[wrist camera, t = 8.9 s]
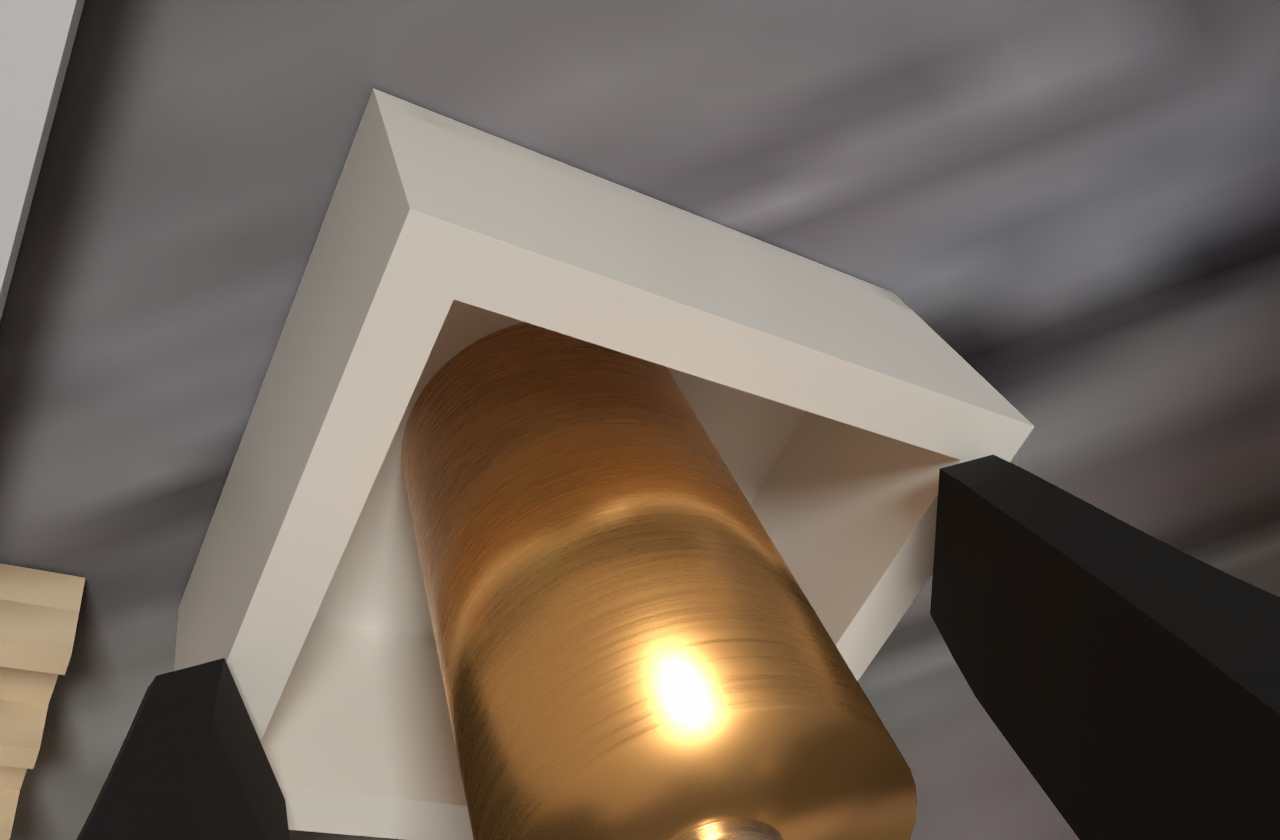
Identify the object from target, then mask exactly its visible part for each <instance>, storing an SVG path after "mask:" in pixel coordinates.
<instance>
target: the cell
mask: <svg viewBox="0 0 1280 840" xmlns="http://www.w3.org/2000/svg"><path fill="white" fill-rule="evenodd" d="M401 458H402V472H403V477H404V482H405V487H406V492H407V497H408V503H409V508H410V513H411V518H412V523H413V528H414V534H415V539H416V544H417V549H418V554H419V560H420V565H421V570H422V575H423V580H424V585H425V591H426V596H427V601H428V606H429V611H430V616H431V622H432V627H433V632H434V637H435V642H436V647H437V653H438V658H439V663H440V668H441V673H442V678H443V684H444V689H445V694H446V699H447V704H448V710H449V715H450V720H451V725H452V730H453V735H454V741H455V746H456V751H457V756H458V761H459V766H460V772H461V777H462V782H463V787H464V792H465V797H466V803H467V808H468V813H469V818H470V823H471V828H472V834H473V839H474V840H910V838H911V834H912V830H913V827H914V823H915V818H916V807H917V797H916V787H915V783H914V780H913V776H912V773H911V770H910V768H909V766H908V765H907V763H906V761H905V759H904V758H903V756H902V754H901V753H900V751H899V749H898V748H897V746H896V744H895V743H894V741H893V739H892V738H891V736H890V734H889V733H888V731H887V730H886V728H885V726H884V725H883V723H882V721H881V720H880V718H879V716H878V715H877V713H876V711H875V710H874V708H873V706H872V705H871V703H870V701H869V700H868V698H867V697H866V695H865V693H864V692H863V690H862V688H861V687H860V685H859V683H858V682H857V680H856V678H855V677H854V675H853V673H852V672H851V670H850V669H849V667H848V665H847V664H846V662H845V660H844V659H843V657H842V655H841V654H840V652H839V650H838V649H837V647H836V645H835V644H834V642H833V640H832V639H831V637H830V636H829V634H828V632H827V631H826V629H825V627H824V626H823V624H822V622H821V621H820V619H819V617H818V616H817V614H816V612H815V611H814V609H813V608H812V606H811V604H810V603H809V601H808V599H807V598H806V596H805V594H804V593H803V591H802V589H801V588H800V586H799V584H798V583H797V581H796V580H795V578H794V576H793V575H792V573H791V571H790V570H789V568H788V566H787V565H786V563H785V561H784V560H783V558H782V556H781V555H780V553H779V551H778V550H777V548H776V547H775V545H774V543H773V542H772V540H771V538H770V537H769V535H768V533H767V532H766V530H765V528H764V527H763V525H762V523H761V522H760V520H759V519H758V517H757V515H756V514H755V512H754V510H753V509H752V507H751V505H750V504H749V502H748V500H747V499H746V497H745V495H744V494H743V492H742V490H741V489H740V487H739V486H738V484H737V482H736V481H735V479H734V477H733V476H732V474H731V472H730V471H729V469H728V467H727V466H726V464H725V462H724V461H723V459H722V458H721V456H720V454H719V453H718V451H717V449H716V448H715V446H714V444H713V443H712V441H711V439H710V438H709V436H708V434H707V433H706V431H705V429H704V428H703V426H702V425H701V423H700V421H699V420H698V418H697V416H696V415H695V413H694V411H693V410H692V408H691V406H690V405H689V403H688V401H687V400H686V398H685V397H684V395H683V393H682V392H681V390H680V388H679V387H678V385H677V383H676V382H675V380H674V378H673V377H672V375H671V373H670V372H669V370H668V368H667V367H666V366H663V365H659V364H656V363H653V362H650V361H647V360H644V359H640V358H637V357H634V356H631V355H628V354H625V353H622V352H618V351H615V350H612V349H609V348H606V347H603V346H599V345H596V344H593V343H590V342H587V341H584V340H580V339H577V338H574V337H571V336H568V335H565V334H562V333H558V332H555V331H552V330H549V329H546V328H543V327H539V326H536V325H533V324H530V323H527V322H524V323H519V324H516V325H513V326H510V327H507V328H504V329H501V330H498V331H496V332H494V333H492V334H489V335H487V336H485V337H483V338H481V339H479V340H478V341H476V342H474V343H473V344H471V345H469V346H468V347H466V348H464V349H463V350H462V351H460V352H459V353H458V354H457V355H455V356H454V357H453V358H451V359H450V360H449V361H448V362H447V363H446V364H445V365H444V366H443V367H442V368H441V369H440V370H439V371H438V372H437V373H436V374H435V375H434V376H433V377H432V379H431V380H430V381H429V382H428V384H427V385H426V386H425V387H424V389H423V390H422V392H421V394H420V395H419V397H418V399H417V400H416V402H415V404H414V406H413V408H412V411H411V413H410V415H409V418H408V420H407V423H406V427H405V431H404V435H403V441H402V452H401Z"/></svg>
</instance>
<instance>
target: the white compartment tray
mask: <svg viewBox="0 0 1280 840" xmlns="http://www.w3.org/2000/svg"><path fill="white" fill-rule="evenodd" d="M84 2H85V0H0V321H1V317H2V313H3V310H4V306H5V302H6V298H7V294H8V291H9V287H10V283H11V279H12V275H13V272H14V268H15V264H16V260H17V256H18V253H19V249H20V245H21V241H22V237H23V234H24V230H25V226H26V222H27V218H28V215H29V211H30V207H31V203H32V199H33V196H34V192H35V188H36V184H37V180H38V177H39V173H40V169H41V165H42V162H43V158H44V154H45V150H46V146H47V143H48V139H49V135H50V131H51V127H52V124H53V120H54V116H55V112H56V108H57V105H58V101H59V97H60V93H61V89H62V86H63V82H64V78H65V74H66V70H67V67H68V63H69V59H70V55H71V51H72V48H73V44H74V40H75V36H76V32H77V29H78V25H79V21H80V17H81V14H82V10H83V6H84Z"/></svg>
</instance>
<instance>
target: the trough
mask: <svg viewBox="0 0 1280 840" xmlns="http://www.w3.org/2000/svg"><path fill="white" fill-rule="evenodd" d="M84 583H85V578H83V577H77V576H71V575H65V574H60V573H54V572H48V571H42V570H36V569H30V568H25V567H19V566H13V565H7V564H1V563H0V840H10V836H11V832H12V827H13V822H14V817H15V812H16V807H17V802H18V798H19V793H20V789H21V786H22V783H23V780H24V777H25V774H26V771H27V769H33V768H34V765H35V762H36V759H37V756H38V753H39V750H40V745H41V740H42V735H43V730H44V725H45V720H46V715H47V709H48V705H49V702H50V699H51V696H52V693H53V690H54V687H55V684H56V681H57V678H58V675H59V674H60V675H65V673H66V670H67V667H68V664H69V661H70V658H71V655H72V649H73V644H74V638H75V633H76V627H77V622H78V616H79V611H80V605H81V600H82V594H83V589H84Z"/></svg>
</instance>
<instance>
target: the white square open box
mask: <svg viewBox="0 0 1280 840" xmlns="http://www.w3.org/2000/svg"><path fill="white" fill-rule="evenodd" d="M524 322H527V323H530V324H533V325H536V326H539V327H543V328H546V329H549V330H552V331H555V332H558V333H562V334H565V335H568V336H571V337H574V338H577V339H580V340H584V341H587V342H590V343H593V344H596V345H599V346H603V347H606V348H609V349H612V350H615V351H618V352H622V353H625V354H628V355H631V356H634V357H637V358H640V359H644V360H647V361H650V362H653V363H656V364H659V365H663V366H666V367H667V368H668V370H669V372H670V373H671V375H672V377H673V378H674V380H675V382H676V383H677V385H678V387H679V388H680V390H681V392H682V393H683V395H684V397H685V398H686V400H687V401H688V403H689V405H690V406H691V408H692V410H693V411H694V413H695V415H696V416H697V418H698V420H699V421H700V423H701V425H702V426H703V428H704V429H705V431H706V433H707V434H708V436H709V438H710V439H711V441H712V443H713V444H714V446H715V448H716V449H717V451H718V453H719V454H720V456H721V458H722V459H723V461H724V462H725V464H726V466H727V467H728V469H729V471H730V472H731V474H732V476H733V477H734V479H735V481H736V482H737V484H738V486H739V487H740V489H741V490H742V492H743V494H744V495H745V497H746V499H747V500H748V502H749V504H750V505H751V507H752V509H753V510H754V512H755V514H756V515H757V517H758V519H759V520H760V522H761V523H762V525H763V527H764V528H765V530H766V532H767V533H768V535H769V537H770V538H771V540H772V542H773V543H774V545H775V547H776V548H777V550H778V551H779V553H780V555H781V556H782V558H783V560H784V561H785V563H786V565H787V566H788V568H789V570H790V571H791V573H792V575H793V576H794V578H795V580H796V581H797V583H798V584H799V586H800V588H801V589H802V591H803V593H804V594H805V596H806V598H807V599H808V601H809V603H810V604H811V606H812V608H813V609H814V611H815V612H816V614H817V616H818V617H819V619H820V621H821V622H822V624H823V626H824V627H825V629H826V631H827V632H828V634H829V636H830V637H831V639H832V640H833V642H834V644H835V645H836V647H837V649H838V650H839V652H840V654H841V655H842V657H843V659H844V660H845V662H846V664H847V665H848V667H849V669H850V670H851V672H852V673H853V675H854V677H855V678H856V680H857V682H858V680H859V679H860V677H861V676H862V674H863V673H864V671H865V670H866V669H867V667H868V666H869V664H870V663H871V661H872V660H873V659H874V657H875V656H876V654H877V653H878V651H879V650H880V648H881V647H882V646H883V644H884V643H885V641H886V640H887V638H888V637H889V635H890V634H891V633H892V631H893V630H894V628H895V627H896V625H897V624H898V623H899V621H900V620H901V618H902V617H903V615H904V614H905V612H906V611H907V610H908V608H909V607H910V605H911V604H912V602H913V601H914V599H915V598H916V597H917V595H918V594H919V592H920V591H921V589H922V588H923V587H924V585H925V584H926V582H927V581H928V579H929V578H930V576H931V575H932V574H933V564H934V548H935V533H936V517H937V501H938V485H939V470H940V468H944V467H948V466H952V465H955V464H959V463H963V462H967V461H971V460H974V459H978V458H982V457H986V456H989V455H995V456H998V457H1000V458H1002V459H1004V460H1006V461H1008V462H1010V461H1011V460H1012V458H1013V457H1014V456H1015V454H1016V453H1017V451H1018V450H1019V448H1020V447H1021V445H1022V444H1023V443H1024V441H1025V440H1026V438H1027V437H1028V435H1029V434H1030V432H1031V431H1032V430H1033V428H1034V426H1033V425H1032V424H1031V423H1030V422H1029V421H1028V420H1027V419H1026V418H1025V417H1024V416H1023V415H1022V414H1021V413H1020V412H1019V411H1018V410H1017V409H1016V408H1014V407H1013V406H1012V405H1011V404H1010V403H1009V402H1008V401H1007V400H1006V399H1005V398H1004V397H1003V396H1002V395H1001V394H1000V393H999V392H998V391H997V390H996V389H994V388H993V387H992V386H991V385H990V384H989V383H988V382H987V381H986V380H985V379H984V378H983V377H982V376H981V375H980V374H979V373H978V372H977V371H976V370H974V369H973V368H972V367H971V366H970V365H969V364H968V363H967V362H966V361H965V360H964V359H963V358H962V357H961V356H960V355H959V354H958V353H957V352H956V351H954V350H953V349H952V348H951V347H950V346H949V345H948V344H947V343H946V342H945V341H944V340H943V339H942V338H941V337H940V336H939V335H938V334H937V333H936V332H934V331H933V330H932V329H931V328H930V327H929V326H928V325H927V324H926V323H925V322H924V321H923V320H922V319H921V318H920V317H919V316H918V315H917V314H916V313H914V312H913V311H912V310H911V309H910V308H909V307H908V306H907V305H906V304H905V303H904V302H903V301H902V300H901V299H900V298H899V297H898V296H897V295H896V294H894V293H893V292H891V291H888V290H885V289H883V288H880V287H878V286H875V285H873V284H870V283H868V282H865V281H863V280H860V279H857V278H855V277H852V276H850V275H847V274H845V273H842V272H840V271H837V270H835V269H832V268H829V267H827V266H824V265H822V264H819V263H817V262H814V261H812V260H809V259H807V258H804V257H801V256H799V255H796V254H794V253H791V252H789V251H786V250H784V249H781V248H778V247H776V246H773V245H771V244H768V243H766V242H763V241H761V240H758V239H756V238H753V237H750V236H748V235H745V234H743V233H740V232H738V231H735V230H733V229H730V228H728V227H725V226H722V225H720V224H717V223H715V222H712V221H710V220H707V219H705V218H702V217H700V216H697V215H694V214H692V213H689V212H687V211H684V210H682V209H679V208H677V207H674V206H672V205H669V204H666V203H664V202H661V201H659V200H656V199H654V198H651V197H649V196H646V195H644V194H641V193H638V192H636V191H633V190H631V189H628V188H626V187H623V186H621V185H618V184H616V183H613V182H610V181H608V180H605V179H603V178H600V177H598V176H595V175H593V174H590V173H588V172H585V171H582V170H580V169H577V168H575V167H572V166H570V165H567V164H565V163H562V162H560V161H557V160H554V159H552V158H549V157H547V156H544V155H542V154H539V153H537V152H534V151H532V150H529V149H526V148H524V147H521V146H519V145H516V144H514V143H511V142H509V141H506V140H504V139H501V138H498V137H496V136H493V135H491V134H488V133H486V132H483V131H481V130H478V129H475V128H473V127H470V126H468V125H465V124H463V123H460V122H458V121H455V120H453V119H450V118H447V117H445V116H442V115H440V114H437V113H435V112H432V111H430V110H427V109H425V108H422V107H419V106H417V105H414V104H412V103H409V102H407V101H404V100H402V99H399V98H397V97H394V96H391V95H389V94H386V93H384V92H381V91H379V90H376V89H374V88H373V90H372V93H371V96H370V98H369V101H368V104H367V106H366V109H365V112H364V114H363V117H362V120H361V122H360V125H359V128H358V130H357V133H356V136H355V138H354V141H353V144H352V146H351V149H350V152H349V154H348V157H347V160H346V162H345V165H344V168H343V170H342V173H341V176H340V178H339V181H338V184H337V186H336V189H335V192H334V194H333V197H332V200H331V202H330V205H329V208H328V210H327V213H326V216H325V218H324V221H323V224H322V226H321V229H320V232H319V234H318V237H317V240H316V242H315V245H314V248H313V250H312V253H311V256H310V258H309V261H308V264H307V266H306V269H305V272H304V274H303V277H302V280H301V283H300V285H299V288H298V291H297V293H296V296H295V299H294V301H293V304H292V307H291V309H290V312H289V315H288V317H287V320H286V323H285V325H284V328H283V331H282V333H281V336H280V339H279V341H278V344H277V347H276V349H275V352H274V355H273V357H272V360H271V363H270V365H269V368H268V371H267V373H266V376H265V379H264V381H263V384H262V387H261V389H260V392H259V395H258V397H257V400H256V403H255V405H254V408H253V411H252V413H251V416H250V419H249V421H248V424H247V427H246V429H245V432H244V435H243V437H242V440H241V443H240V445H239V448H238V451H237V453H236V456H235V459H234V461H233V464H232V467H231V469H230V472H229V475H228V477H227V480H226V483H225V485H224V488H223V491H222V493H221V496H220V499H219V501H218V504H217V507H216V509H215V512H214V515H213V517H212V520H211V523H210V525H209V528H208V531H207V533H206V536H205V539H204V541H203V544H202V547H201V549H200V552H199V555H198V557H197V560H196V563H195V565H194V568H193V571H192V573H191V576H190V579H189V581H188V584H187V587H186V589H185V592H184V595H183V597H182V600H181V603H180V605H179V612H178V625H177V638H176V651H175V665H174V671H177V670H180V669H184V668H188V667H192V666H196V665H199V664H203V663H207V662H211V661H215V660H218V659H222V658H225V660H226V663H227V665H228V667H229V670H230V672H231V674H232V677H233V679H234V681H235V684H236V686H237V688H238V691H239V693H240V695H241V698H242V700H243V702H244V705H245V707H246V709H247V712H248V714H249V716H250V719H251V721H252V723H253V726H254V728H255V730H256V733H257V735H258V737H259V740H260V742H261V744H262V747H263V749H264V751H265V754H266V756H267V758H268V761H269V763H270V765H271V768H272V770H273V772H274V775H275V777H276V779H277V782H278V784H279V787H280V789H281V791H282V794H283V796H284V798H285V802H286V811H287V820H288V829H289V830H299V831H310V832H322V833H334V834H345V835H357V836H369V837H380V838H392V839H404V840H474V839H473V834H472V828H471V823H470V818H469V813H468V808H467V803H466V797H465V792H464V787H463V782H462V777H461V772H460V766H459V761H458V756H457V751H456V746H455V741H454V735H453V730H452V725H451V720H450V715H449V710H448V704H447V699H446V694H445V689H444V684H443V678H442V673H441V668H440V663H439V658H438V653H437V647H436V642H435V637H434V632H433V627H432V622H431V616H430V611H429V606H428V601H427V596H426V591H425V585H424V580H423V575H422V570H421V565H420V560H419V554H418V549H417V544H416V539H415V534H414V528H413V523H412V518H411V513H410V508H409V503H408V497H407V492H406V487H405V482H404V477H403V472H402V458H401V452H402V441H403V435H404V431H405V427H406V423H407V420H408V418H409V415H410V413H411V411H412V408H413V406H414V404H415V402H416V400H417V399H418V397H419V395H420V394H421V392H422V390H423V389H424V387H425V386H426V385H427V384H428V382H429V381H430V380H431V379H432V377H433V376H434V375H435V374H436V373H437V372H438V371H439V370H440V369H441V368H442V367H443V366H444V365H445V364H446V363H447V362H448V361H449V360H450V359H451V358H453V357H454V356H455V355H457V354H458V353H459V352H460V351H462V350H463V349H464V348H466V347H468V346H469V345H471V344H473V343H474V342H476V341H478V340H479V339H481V338H483V337H485V336H487V335H489V334H492V333H494V332H496V331H498V330H501V329H504V328H507V327H510V326H513V325H516V324H519V323H524Z"/></svg>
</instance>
